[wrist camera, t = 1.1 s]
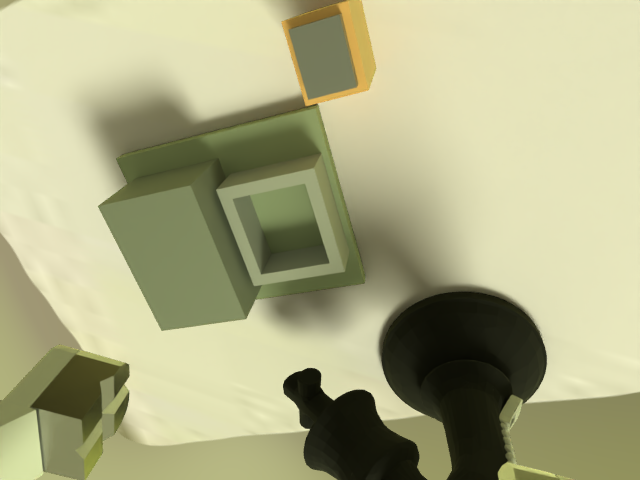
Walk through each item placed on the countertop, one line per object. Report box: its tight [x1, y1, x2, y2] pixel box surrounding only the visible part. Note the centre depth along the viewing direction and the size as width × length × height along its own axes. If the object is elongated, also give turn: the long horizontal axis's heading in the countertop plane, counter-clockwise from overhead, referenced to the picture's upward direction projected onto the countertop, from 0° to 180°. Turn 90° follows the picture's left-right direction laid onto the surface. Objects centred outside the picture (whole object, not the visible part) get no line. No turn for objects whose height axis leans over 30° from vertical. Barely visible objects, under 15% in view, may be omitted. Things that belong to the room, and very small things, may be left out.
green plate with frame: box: [98, 105, 365, 331], centre depth 41 cm, size 18×16×7 cm
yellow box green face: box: [282, 0, 376, 106], centre depth 32 cm, size 4×5×9 cm
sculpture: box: [283, 292, 547, 480], centre depth 37 cm, size 15×24×25 cm, turn 91°
